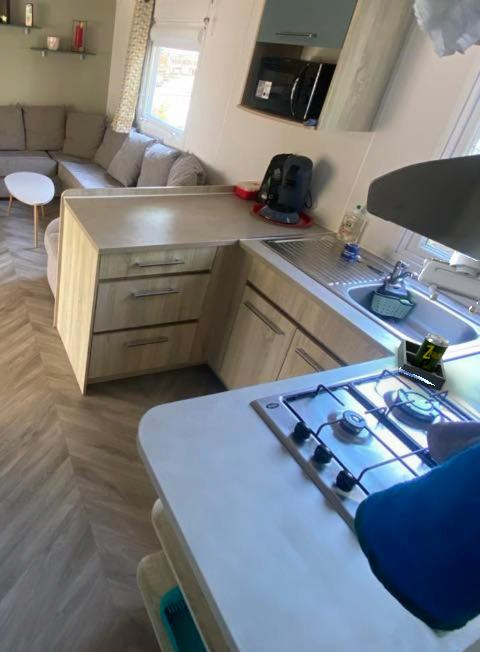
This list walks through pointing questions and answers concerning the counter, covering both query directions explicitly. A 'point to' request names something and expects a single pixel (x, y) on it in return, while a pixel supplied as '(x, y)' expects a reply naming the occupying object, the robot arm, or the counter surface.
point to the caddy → (405, 358)
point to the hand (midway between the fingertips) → (451, 306)
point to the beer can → (430, 352)
